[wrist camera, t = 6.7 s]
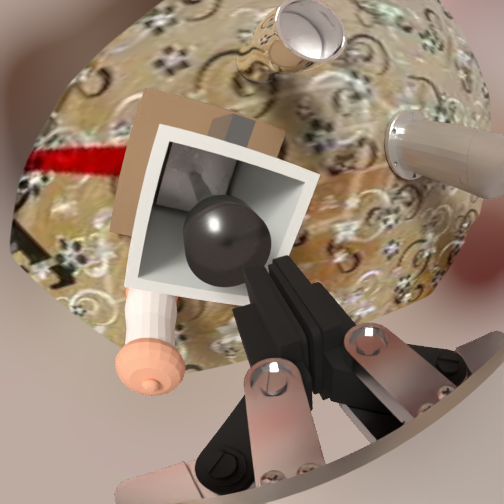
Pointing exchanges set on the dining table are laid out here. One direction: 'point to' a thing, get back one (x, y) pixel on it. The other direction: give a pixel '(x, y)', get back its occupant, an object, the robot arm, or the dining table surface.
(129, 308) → the salt shaker
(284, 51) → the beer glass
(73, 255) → the dining table surface
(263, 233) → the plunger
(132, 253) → the white pen holder
